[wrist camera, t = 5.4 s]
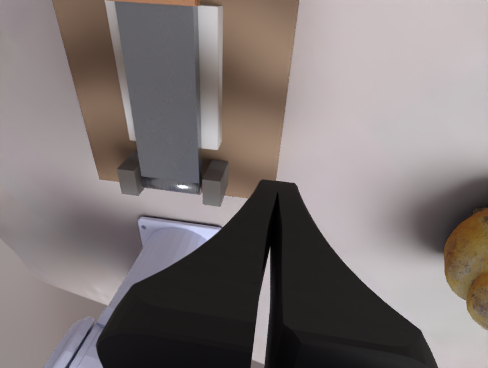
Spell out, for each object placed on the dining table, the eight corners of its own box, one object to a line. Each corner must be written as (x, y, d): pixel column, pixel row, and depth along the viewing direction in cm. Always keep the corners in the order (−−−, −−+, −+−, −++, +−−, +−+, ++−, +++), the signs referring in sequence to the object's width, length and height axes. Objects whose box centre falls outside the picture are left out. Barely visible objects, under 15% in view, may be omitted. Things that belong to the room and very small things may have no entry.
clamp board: (274, 190, 24) (269, 232, 19) (109, 169, 25) (71, 205, 21) (311, -100, 14) (318, -138, 10) (43, -107, 15) (-49, -144, 11)
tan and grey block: (206, 188, 21) (200, 200, 20) (146, 181, 21) (138, 192, 20) (201, -57, 14) (192, -63, 12) (111, -62, 14) (94, -68, 13)
